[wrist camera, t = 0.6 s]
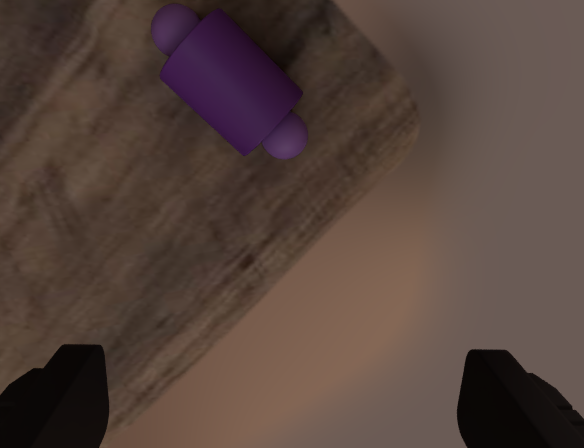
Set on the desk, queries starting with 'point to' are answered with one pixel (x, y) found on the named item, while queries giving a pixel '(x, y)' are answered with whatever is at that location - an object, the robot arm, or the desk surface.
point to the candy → (229, 81)
